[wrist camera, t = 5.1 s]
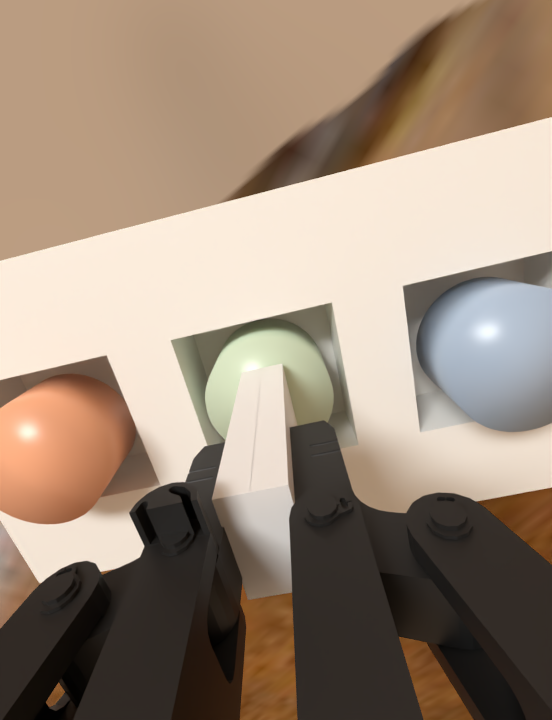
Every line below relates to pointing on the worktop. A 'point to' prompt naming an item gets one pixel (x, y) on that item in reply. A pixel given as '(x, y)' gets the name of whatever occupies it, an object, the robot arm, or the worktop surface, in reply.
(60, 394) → the terracotta button
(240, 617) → the robot arm
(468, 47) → the worktop surface
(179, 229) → the button panel
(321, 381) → the green button
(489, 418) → the blue button
